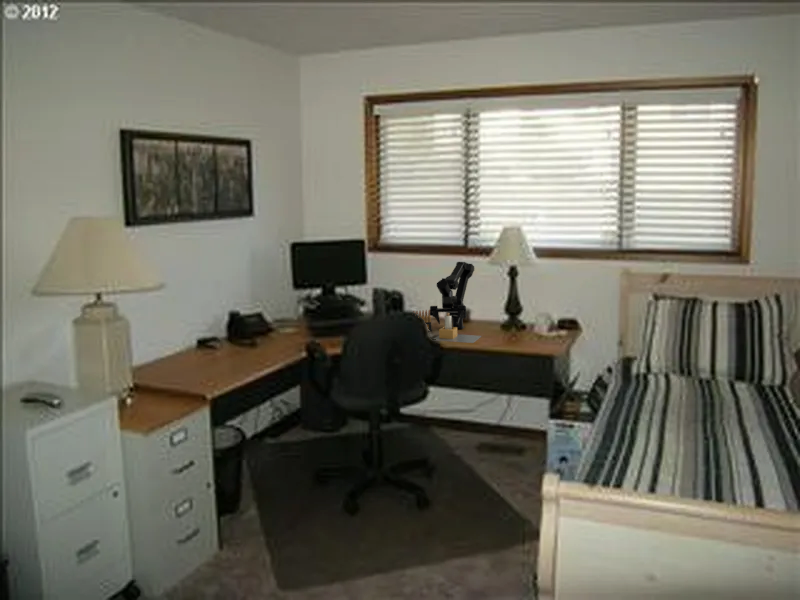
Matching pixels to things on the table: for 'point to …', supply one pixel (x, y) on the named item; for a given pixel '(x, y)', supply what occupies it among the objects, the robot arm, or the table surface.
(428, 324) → the ammunition clip
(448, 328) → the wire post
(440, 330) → the plate
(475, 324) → the table surface
